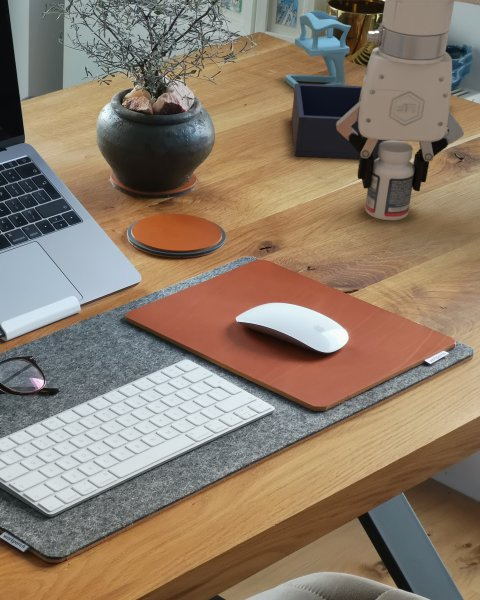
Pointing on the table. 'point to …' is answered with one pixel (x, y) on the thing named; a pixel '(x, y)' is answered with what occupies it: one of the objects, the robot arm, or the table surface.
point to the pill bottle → (391, 181)
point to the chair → (322, 48)
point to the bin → (324, 121)
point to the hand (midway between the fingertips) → (390, 184)
